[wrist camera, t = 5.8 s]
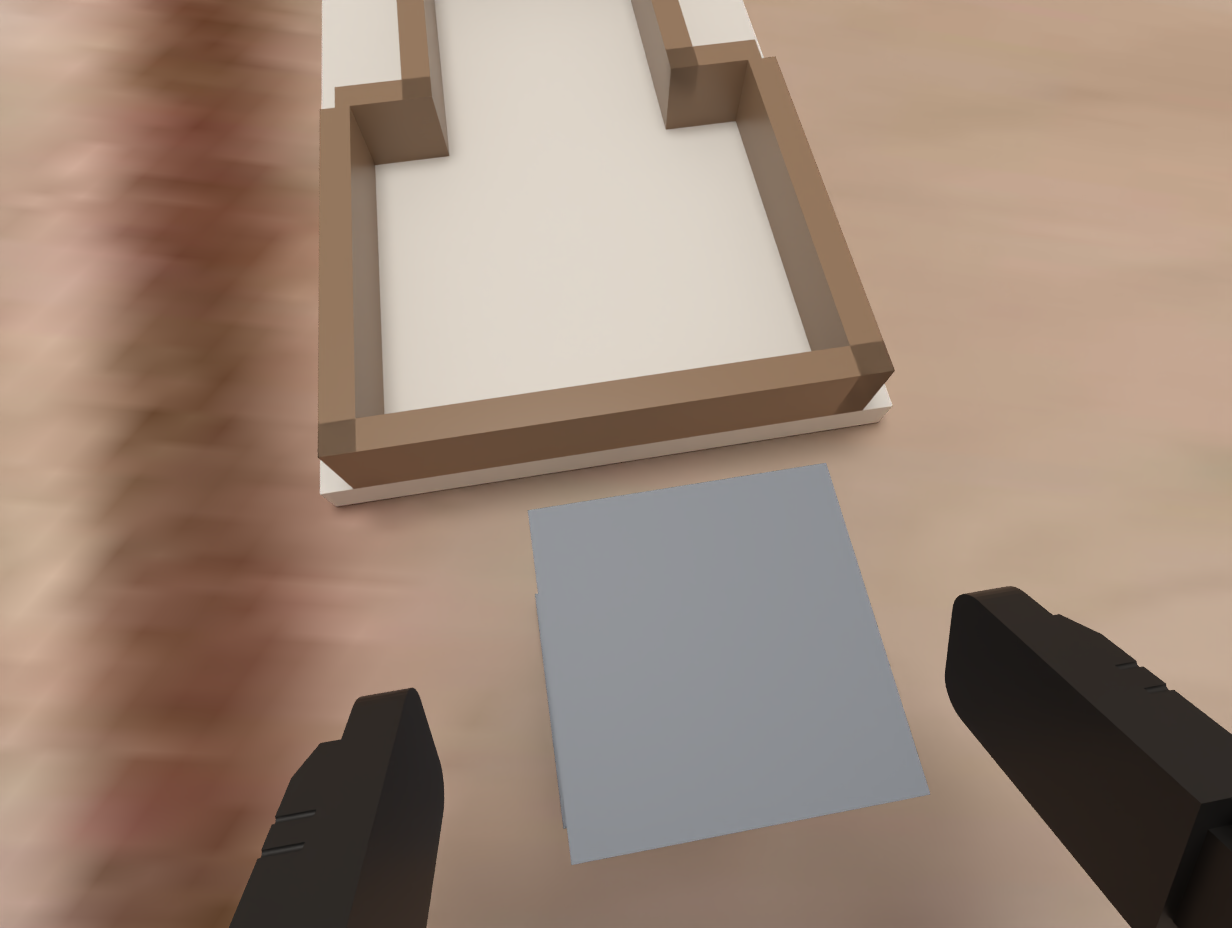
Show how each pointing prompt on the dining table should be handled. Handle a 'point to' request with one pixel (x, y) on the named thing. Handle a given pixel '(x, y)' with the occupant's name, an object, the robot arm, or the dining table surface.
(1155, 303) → the dining table surface
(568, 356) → the keyhole guide board
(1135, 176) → the dining table surface
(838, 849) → the dining table surface
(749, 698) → the slate keyhole peg
